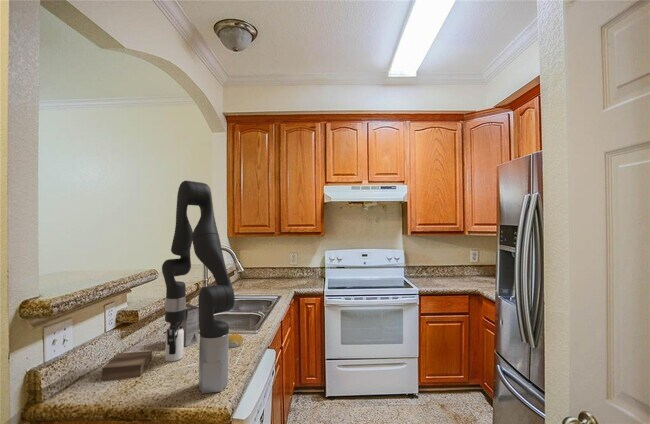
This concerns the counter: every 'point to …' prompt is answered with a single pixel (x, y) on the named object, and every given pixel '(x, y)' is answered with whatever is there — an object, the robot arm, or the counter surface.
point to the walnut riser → (127, 365)
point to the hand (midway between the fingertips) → (174, 350)
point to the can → (179, 347)
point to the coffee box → (191, 325)
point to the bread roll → (235, 340)
